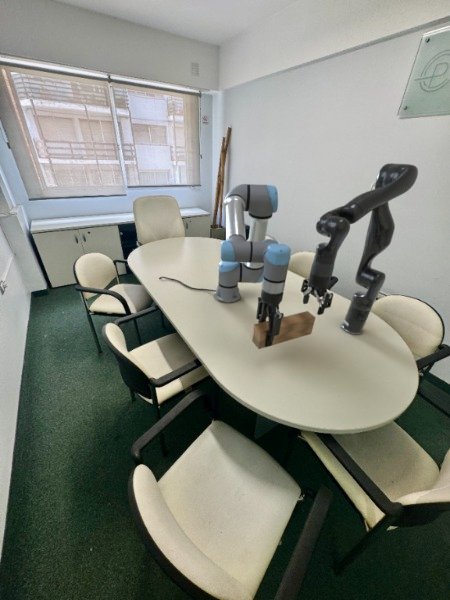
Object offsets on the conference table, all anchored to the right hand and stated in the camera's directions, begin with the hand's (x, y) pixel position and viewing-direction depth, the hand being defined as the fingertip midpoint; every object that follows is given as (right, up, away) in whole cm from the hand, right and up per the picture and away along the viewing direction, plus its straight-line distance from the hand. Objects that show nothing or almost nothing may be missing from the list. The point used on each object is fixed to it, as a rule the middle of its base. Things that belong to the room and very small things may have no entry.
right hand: (312, 308), depth 97 cm
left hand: (-19, -13, -2) cm, 23 cm away
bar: (-11, -12, +2) cm, 17 cm away
